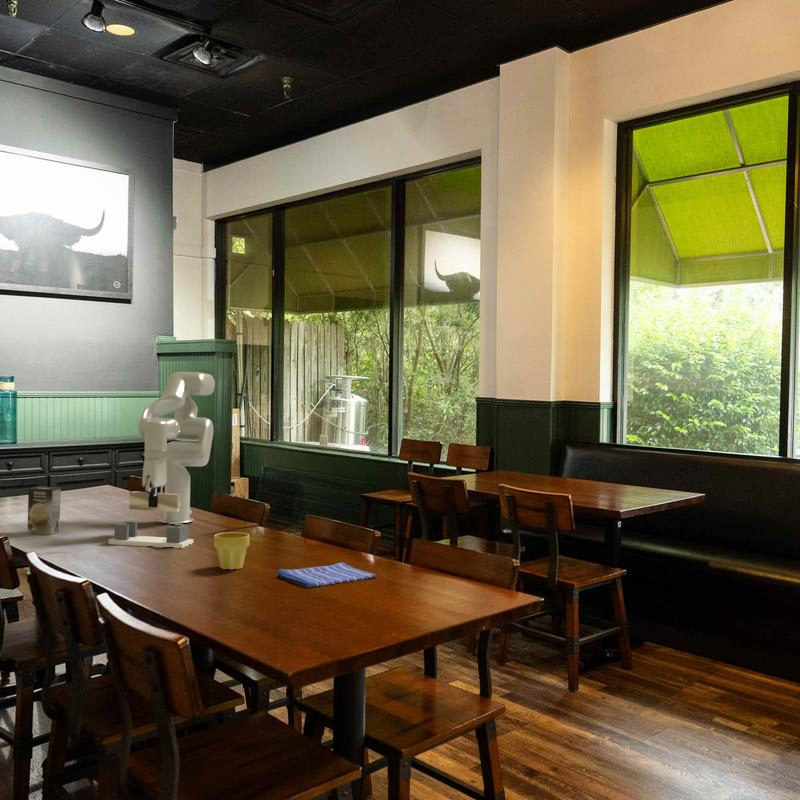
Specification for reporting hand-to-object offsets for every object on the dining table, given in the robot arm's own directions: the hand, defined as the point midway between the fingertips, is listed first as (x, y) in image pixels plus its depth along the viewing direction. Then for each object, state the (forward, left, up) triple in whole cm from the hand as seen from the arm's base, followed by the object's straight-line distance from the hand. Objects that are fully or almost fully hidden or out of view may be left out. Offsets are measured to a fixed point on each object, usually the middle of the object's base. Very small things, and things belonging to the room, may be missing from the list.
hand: (155, 505), depth 286 cm
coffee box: (+8, -38, -11) cm, 40 cm away
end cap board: (+15, +6, -10) cm, 19 cm away
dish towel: (+45, +74, -11) cm, 87 cm away
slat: (0, 0, -1) cm, 1 cm away
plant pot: (+41, +44, -11) cm, 61 cm away
